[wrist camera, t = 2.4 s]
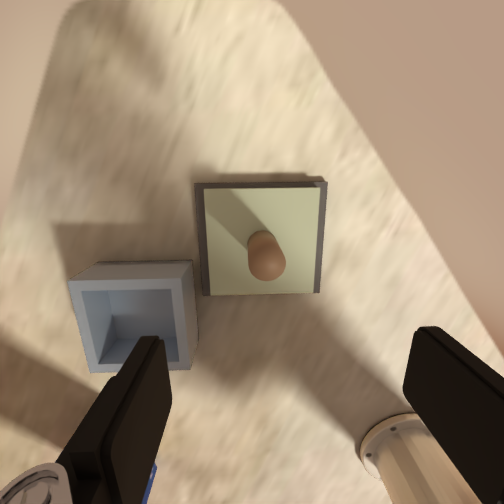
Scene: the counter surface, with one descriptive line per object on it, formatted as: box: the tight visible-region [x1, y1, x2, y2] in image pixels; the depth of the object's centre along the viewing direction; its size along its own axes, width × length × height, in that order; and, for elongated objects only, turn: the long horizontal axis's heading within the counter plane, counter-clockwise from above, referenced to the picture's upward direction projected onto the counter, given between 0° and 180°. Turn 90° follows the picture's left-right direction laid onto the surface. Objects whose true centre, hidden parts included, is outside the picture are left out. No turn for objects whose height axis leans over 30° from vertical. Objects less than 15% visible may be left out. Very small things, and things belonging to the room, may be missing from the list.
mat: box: [195, 182, 328, 296], centre depth 27 cm, size 13×12×1 cm
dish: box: [67, 260, 199, 373], centre depth 26 cm, size 10×10×5 cm
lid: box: [204, 187, 320, 296], centre depth 23 cm, size 11×11×7 cm
